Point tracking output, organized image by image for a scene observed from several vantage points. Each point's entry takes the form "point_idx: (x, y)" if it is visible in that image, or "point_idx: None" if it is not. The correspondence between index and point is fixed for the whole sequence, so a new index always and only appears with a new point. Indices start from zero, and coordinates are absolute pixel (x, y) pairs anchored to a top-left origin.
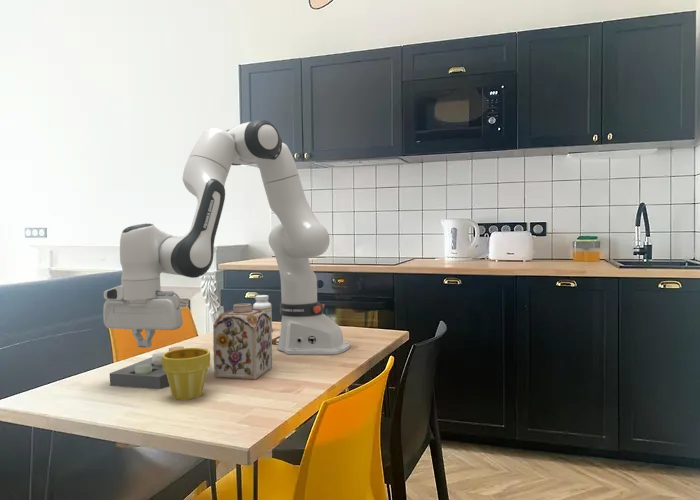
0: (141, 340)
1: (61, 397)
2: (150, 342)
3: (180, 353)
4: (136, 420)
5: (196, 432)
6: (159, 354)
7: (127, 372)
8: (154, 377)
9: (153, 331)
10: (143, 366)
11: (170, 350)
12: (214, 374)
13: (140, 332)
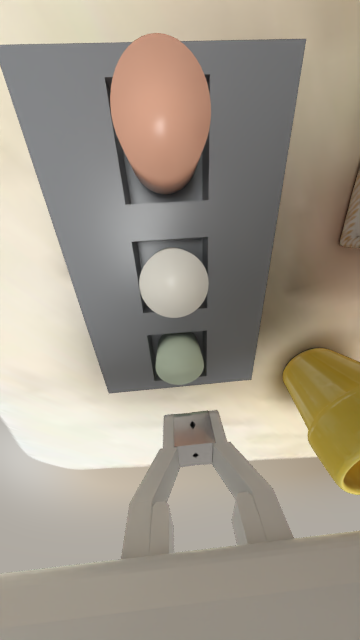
0: (191, 463)
1: (99, 431)
2: (222, 431)
3: None
4: (275, 447)
5: None
6: (170, 289)
7: (146, 377)
8: (236, 379)
9: (274, 509)
10: (182, 369)
11: (154, 177)
12: (346, 246)
13: (153, 495)
